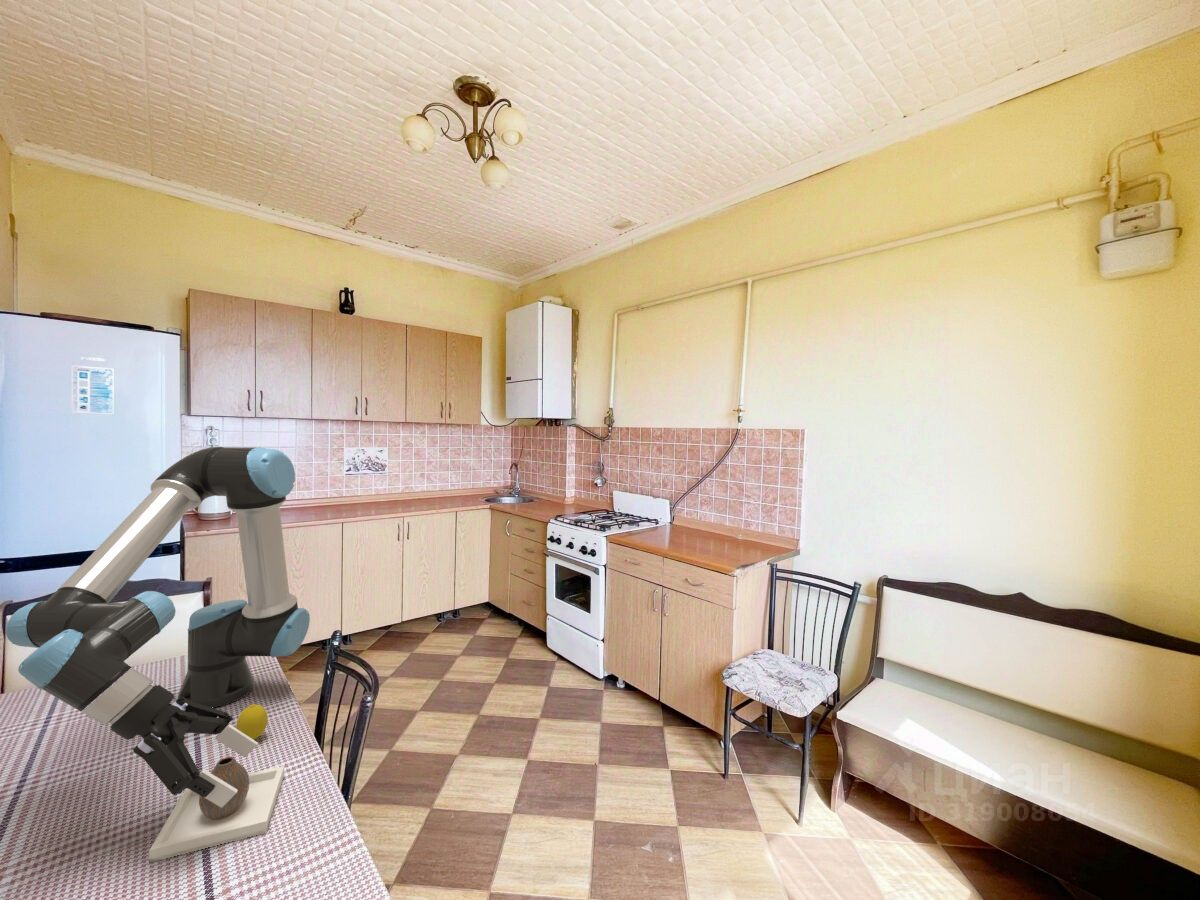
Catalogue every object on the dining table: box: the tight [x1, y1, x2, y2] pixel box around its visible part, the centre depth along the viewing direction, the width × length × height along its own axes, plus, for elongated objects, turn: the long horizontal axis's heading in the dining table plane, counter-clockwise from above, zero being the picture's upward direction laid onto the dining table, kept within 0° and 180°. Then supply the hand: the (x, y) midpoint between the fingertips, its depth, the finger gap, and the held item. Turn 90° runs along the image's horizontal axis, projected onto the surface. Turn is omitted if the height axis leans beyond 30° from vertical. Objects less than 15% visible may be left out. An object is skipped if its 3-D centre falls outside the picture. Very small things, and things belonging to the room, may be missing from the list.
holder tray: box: [148, 765, 285, 864], centre depth 83 cm, size 15×15×2 cm
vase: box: [199, 756, 249, 820], centre depth 83 cm, size 7×7×9 cm
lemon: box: [235, 703, 269, 741], centre depth 103 cm, size 6×6×8 cm
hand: (241, 772), depth 84 cm, fingers open, 13 cm apart
